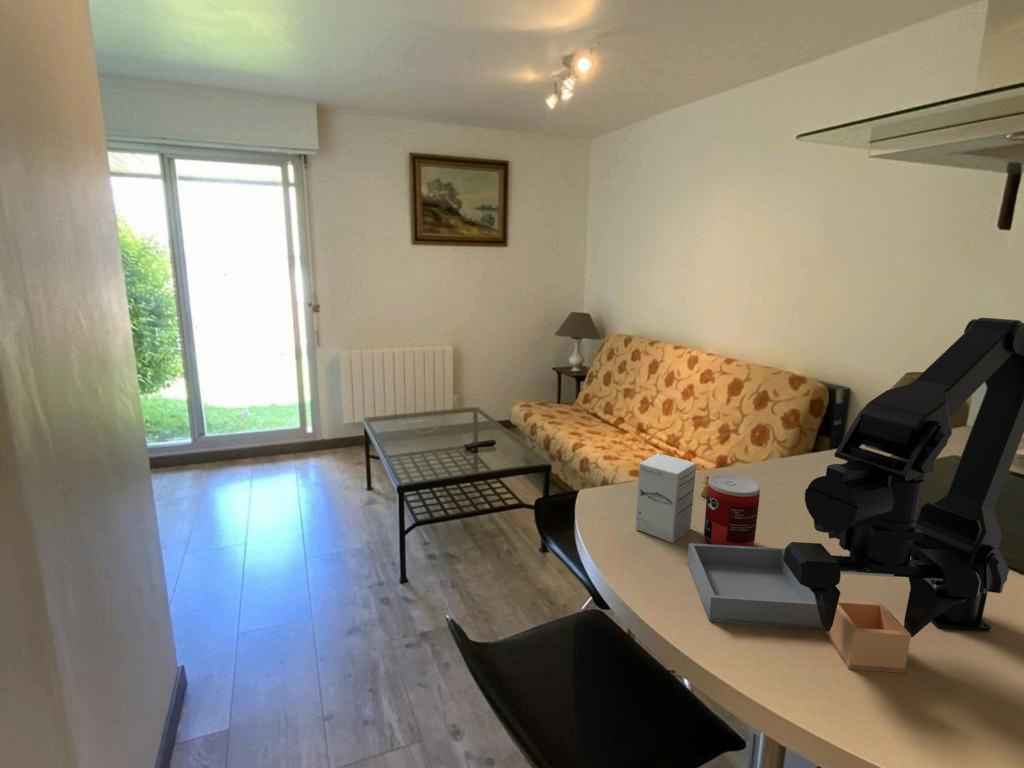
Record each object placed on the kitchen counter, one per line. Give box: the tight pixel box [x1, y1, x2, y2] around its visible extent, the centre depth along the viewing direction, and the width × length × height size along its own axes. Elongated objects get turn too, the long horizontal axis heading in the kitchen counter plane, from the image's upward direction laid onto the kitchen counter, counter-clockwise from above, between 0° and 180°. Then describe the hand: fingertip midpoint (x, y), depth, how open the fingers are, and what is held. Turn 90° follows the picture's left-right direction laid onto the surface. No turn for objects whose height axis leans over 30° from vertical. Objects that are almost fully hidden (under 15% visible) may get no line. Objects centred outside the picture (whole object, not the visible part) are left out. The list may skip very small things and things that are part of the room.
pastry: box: [699, 474, 711, 499], centre depth 109 cm, size 9×7×4 cm
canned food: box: [703, 473, 761, 547], centre depth 89 cm, size 8×8×11 cm
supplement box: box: [634, 452, 698, 544], centre depth 94 cm, size 7×7×13 cm
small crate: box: [825, 599, 912, 674], centre depth 64 cm, size 6×6×5 cm
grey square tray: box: [687, 543, 823, 630], centre depth 76 cm, size 14×14×4 cm
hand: (866, 632), depth 64 cm, fingers open, 9 cm apart
